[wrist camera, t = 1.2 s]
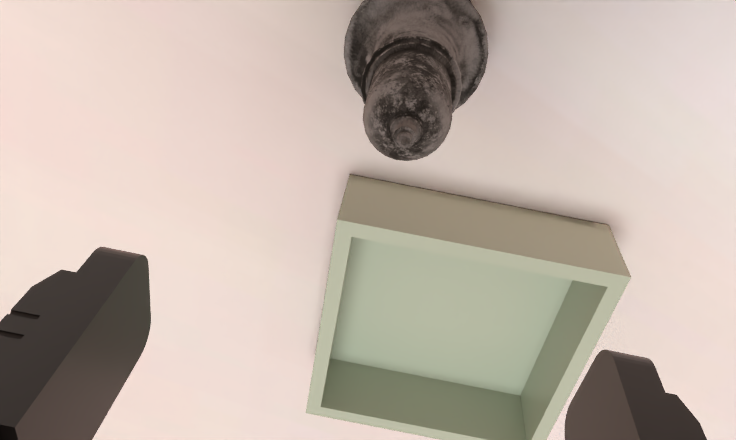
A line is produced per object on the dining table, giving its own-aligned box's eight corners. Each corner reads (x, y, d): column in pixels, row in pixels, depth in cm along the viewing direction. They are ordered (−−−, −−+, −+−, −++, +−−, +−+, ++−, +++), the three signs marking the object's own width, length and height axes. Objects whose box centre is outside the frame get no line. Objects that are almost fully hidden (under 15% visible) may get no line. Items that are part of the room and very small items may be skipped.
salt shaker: (509, 4, 26) (551, 107, 16) (440, 113, 29) (438, 257, 19) (392, -65, 25) (359, -1, 15) (333, 55, 28) (273, 174, 18)
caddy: (349, 174, 32) (337, 219, 28) (608, 225, 32) (631, 277, 28) (318, 358, 39) (305, 413, 36) (527, 399, 39) (536, 458, 36)
